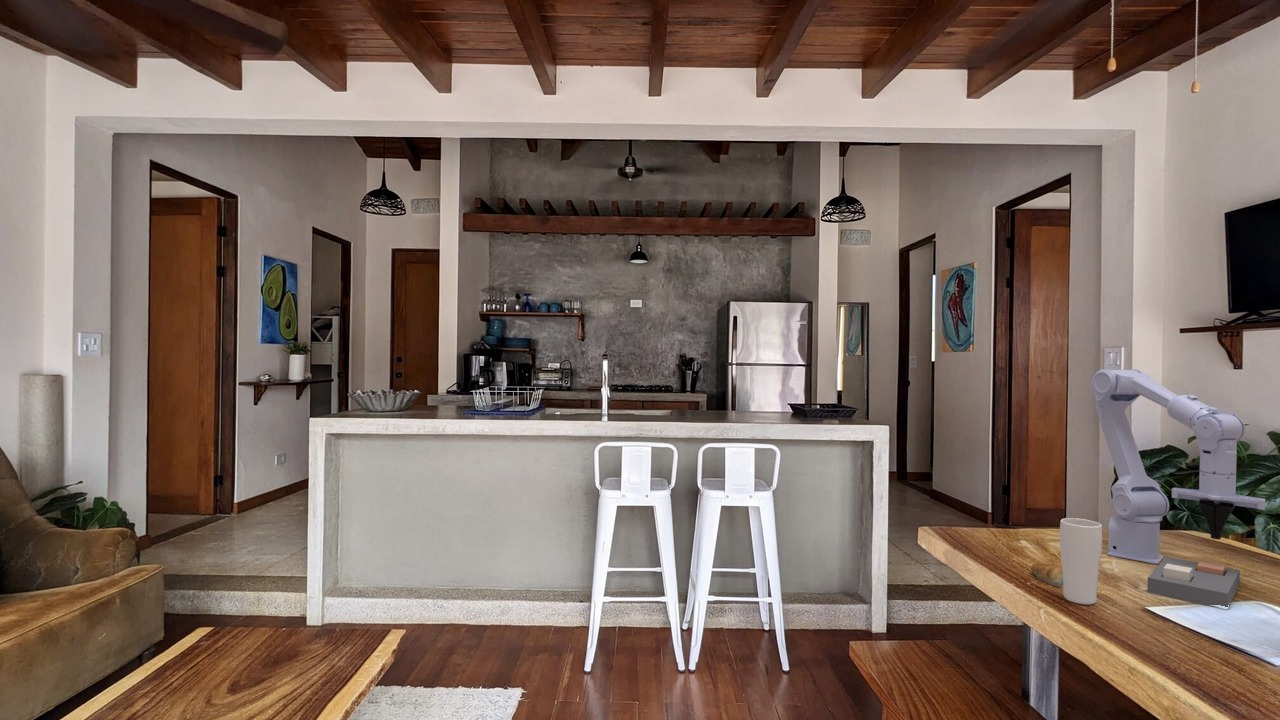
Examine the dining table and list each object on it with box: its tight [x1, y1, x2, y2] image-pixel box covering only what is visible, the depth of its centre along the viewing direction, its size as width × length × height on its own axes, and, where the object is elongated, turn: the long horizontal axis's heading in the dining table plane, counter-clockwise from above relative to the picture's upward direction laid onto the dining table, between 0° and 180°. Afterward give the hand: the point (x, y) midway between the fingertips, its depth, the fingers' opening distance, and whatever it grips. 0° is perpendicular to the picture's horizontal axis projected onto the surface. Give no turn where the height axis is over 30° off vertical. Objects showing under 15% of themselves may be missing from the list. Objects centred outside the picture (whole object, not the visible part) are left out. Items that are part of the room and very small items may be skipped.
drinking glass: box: [1059, 517, 1103, 605], centre depth 129 cm, size 7×7×15 cm
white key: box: [1163, 564, 1192, 582], centre depth 134 cm, size 4×4×3 cm
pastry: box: [1030, 563, 1063, 588], centre depth 141 cm, size 9×7×4 cm
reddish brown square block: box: [1197, 561, 1226, 576], centre depth 138 cm, size 4×4×3 cm
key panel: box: [1146, 556, 1241, 607], centre depth 136 cm, size 12×20×3 cm, turn 134°
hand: (1216, 538), depth 139 cm, fingers closed
